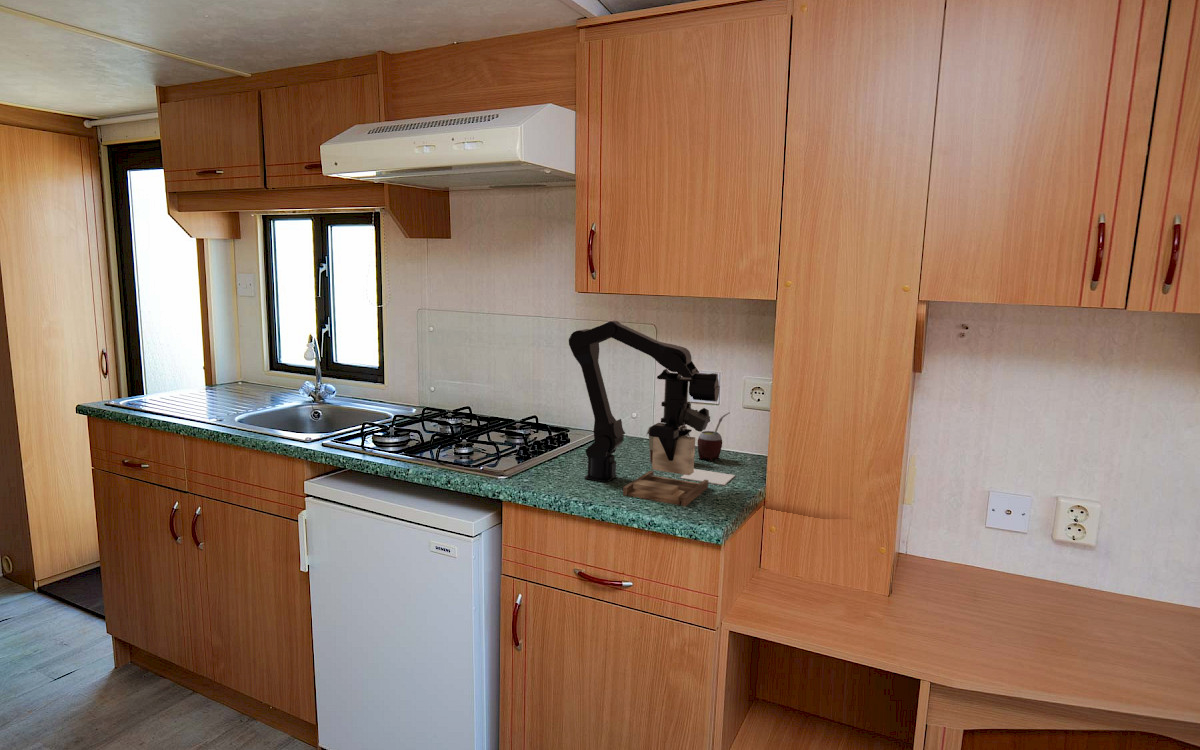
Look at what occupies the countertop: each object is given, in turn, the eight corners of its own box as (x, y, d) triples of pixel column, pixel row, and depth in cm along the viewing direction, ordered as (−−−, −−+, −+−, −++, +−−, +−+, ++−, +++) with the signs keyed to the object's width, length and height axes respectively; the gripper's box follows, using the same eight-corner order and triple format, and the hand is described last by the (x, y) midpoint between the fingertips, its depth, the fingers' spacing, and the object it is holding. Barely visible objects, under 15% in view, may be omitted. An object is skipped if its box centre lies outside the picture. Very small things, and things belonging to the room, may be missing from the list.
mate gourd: (694, 456, 211) (696, 407, 209) (720, 456, 212) (723, 407, 210) (700, 463, 204) (703, 412, 202) (727, 463, 205) (730, 412, 202)
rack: (622, 495, 172) (623, 487, 172) (649, 478, 187) (650, 470, 187) (685, 506, 165) (685, 498, 165) (708, 487, 180) (708, 480, 180)
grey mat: (680, 478, 188) (680, 477, 188) (692, 469, 197) (692, 468, 197) (724, 485, 183) (724, 484, 183) (734, 476, 191) (735, 475, 191)
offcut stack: (628, 497, 172) (628, 483, 171) (636, 492, 176) (637, 478, 176) (679, 506, 166) (679, 492, 166) (686, 500, 171) (686, 486, 170)
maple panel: (652, 469, 180) (653, 434, 178) (656, 466, 182) (658, 432, 181) (689, 475, 175) (691, 439, 174) (693, 472, 178) (695, 437, 177)
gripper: (694, 407, 164) (691, 472, 167) (718, 396, 181) (715, 455, 183) (650, 402, 169) (647, 465, 171) (677, 391, 186) (674, 449, 188)
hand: (673, 459), depth 178 cm, fingers closed on maple panel, 3 cm apart
